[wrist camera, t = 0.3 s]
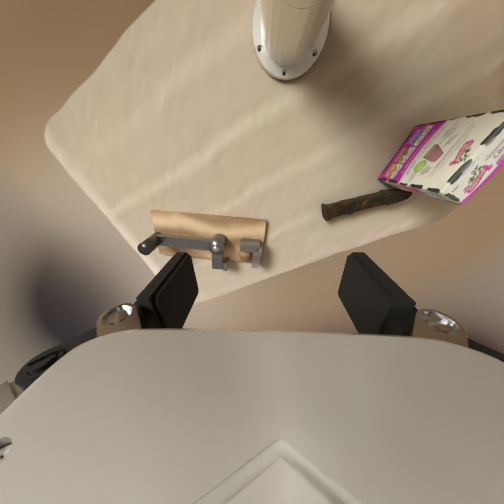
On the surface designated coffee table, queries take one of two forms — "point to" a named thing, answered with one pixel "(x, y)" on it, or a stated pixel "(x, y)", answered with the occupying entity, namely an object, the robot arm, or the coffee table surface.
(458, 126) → the candy bar box
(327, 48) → the coffee table surface
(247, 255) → the walnut
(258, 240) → the tan wooden panel
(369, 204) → the hand tool
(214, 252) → the lever
